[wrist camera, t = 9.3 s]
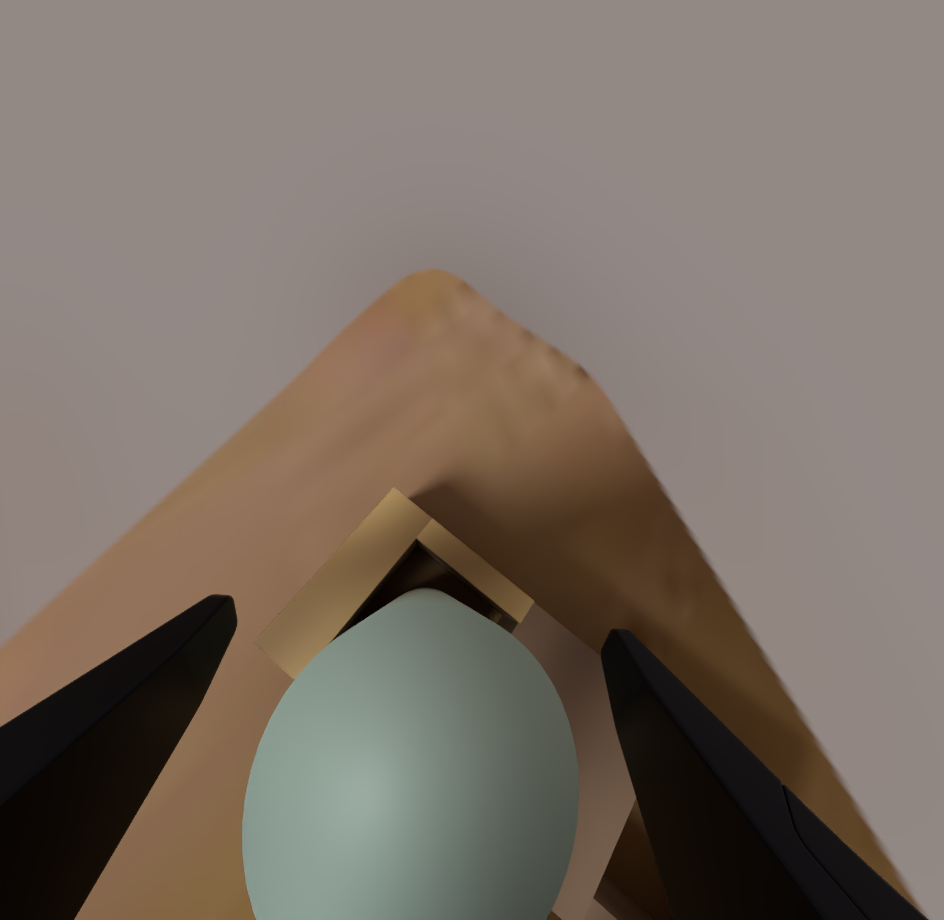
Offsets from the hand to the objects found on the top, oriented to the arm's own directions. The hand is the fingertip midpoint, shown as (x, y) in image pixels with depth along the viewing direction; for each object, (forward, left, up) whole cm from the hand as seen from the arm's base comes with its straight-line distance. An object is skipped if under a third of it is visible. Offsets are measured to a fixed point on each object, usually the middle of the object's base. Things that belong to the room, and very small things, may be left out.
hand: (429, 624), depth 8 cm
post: (-1, -1, -8) cm, 9 cm away
